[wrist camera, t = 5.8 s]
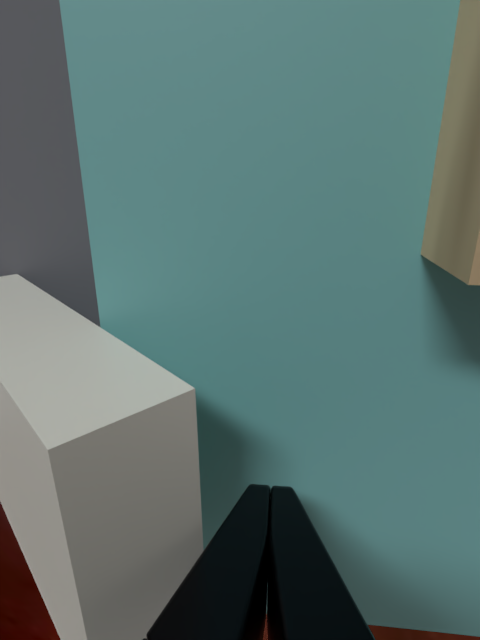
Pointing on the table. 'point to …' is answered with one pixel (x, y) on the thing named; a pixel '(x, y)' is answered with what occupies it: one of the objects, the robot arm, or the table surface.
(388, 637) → the table surface
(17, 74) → the mat
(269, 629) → the robot arm
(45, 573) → the white box
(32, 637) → the table surface
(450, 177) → the oak tile
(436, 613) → the plate
